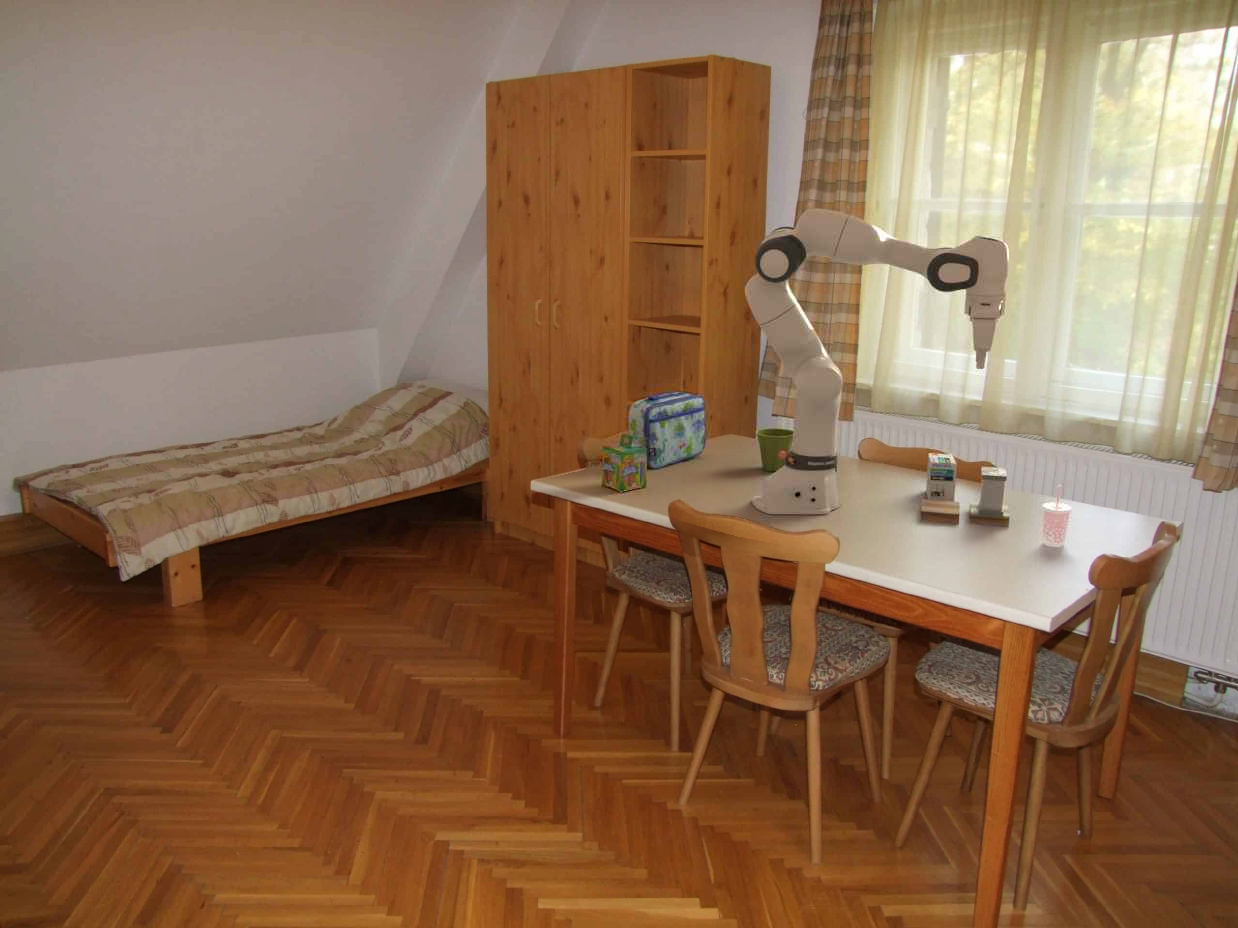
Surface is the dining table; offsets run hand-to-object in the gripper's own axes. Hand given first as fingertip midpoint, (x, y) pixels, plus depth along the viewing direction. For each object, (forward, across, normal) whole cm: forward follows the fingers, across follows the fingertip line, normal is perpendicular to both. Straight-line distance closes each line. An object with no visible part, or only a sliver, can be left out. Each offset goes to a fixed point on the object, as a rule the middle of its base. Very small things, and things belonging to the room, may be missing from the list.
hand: (979, 365), depth 246 cm
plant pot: (+39, -37, -54) cm, 76 cm away
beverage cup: (+39, +11, +19) cm, 45 cm away
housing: (+37, -3, +5) cm, 37 cm away
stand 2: (+39, -5, +5) cm, 40 cm away
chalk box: (+39, -6, -90) cm, 99 cm away
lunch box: (+40, -36, -86) cm, 102 cm away
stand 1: (+39, -3, -6) cm, 40 cm away
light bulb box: (+39, -21, -7) cm, 45 cm away
